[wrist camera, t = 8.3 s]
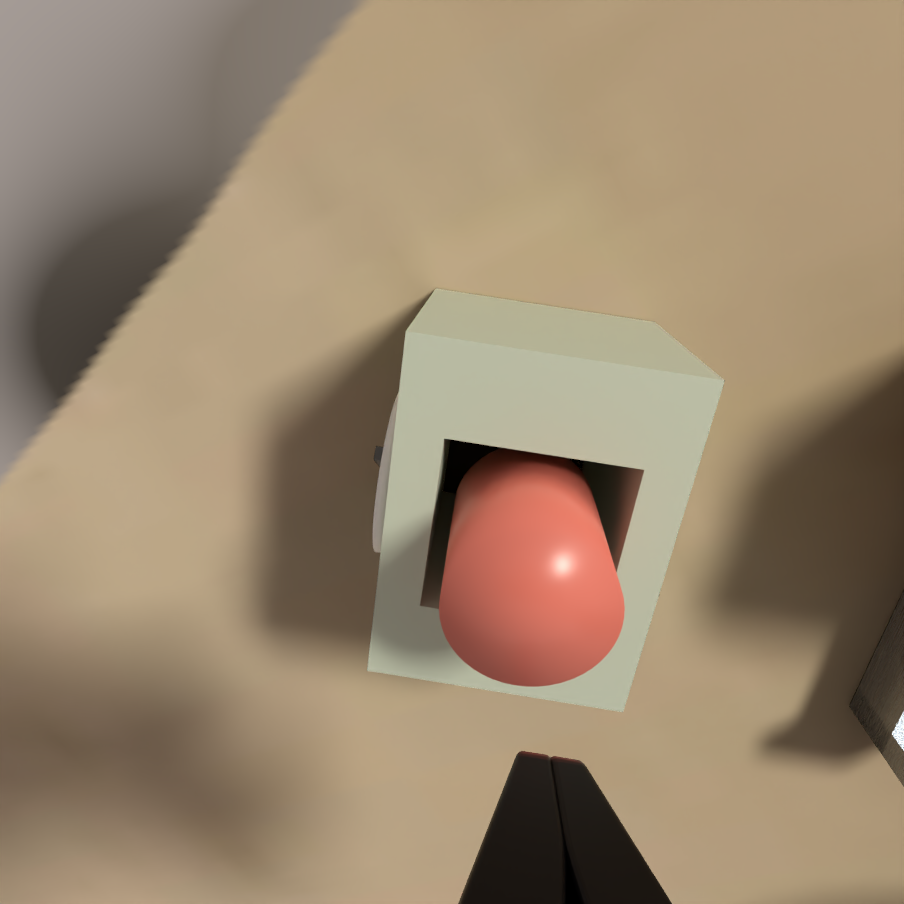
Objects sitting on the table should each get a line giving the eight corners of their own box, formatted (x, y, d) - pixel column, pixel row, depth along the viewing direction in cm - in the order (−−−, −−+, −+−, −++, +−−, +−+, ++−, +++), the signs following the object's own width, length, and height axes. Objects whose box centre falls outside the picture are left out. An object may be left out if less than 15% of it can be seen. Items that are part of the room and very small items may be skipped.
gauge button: (577, 579, 16) (601, 699, 12) (445, 558, 16) (427, 671, 12) (608, 456, 14) (645, 547, 11) (465, 434, 14) (452, 517, 11)
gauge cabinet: (590, 572, 21) (623, 712, 15) (388, 540, 21) (346, 667, 15) (654, 322, 18) (724, 380, 12) (418, 285, 18) (380, 327, 12)
